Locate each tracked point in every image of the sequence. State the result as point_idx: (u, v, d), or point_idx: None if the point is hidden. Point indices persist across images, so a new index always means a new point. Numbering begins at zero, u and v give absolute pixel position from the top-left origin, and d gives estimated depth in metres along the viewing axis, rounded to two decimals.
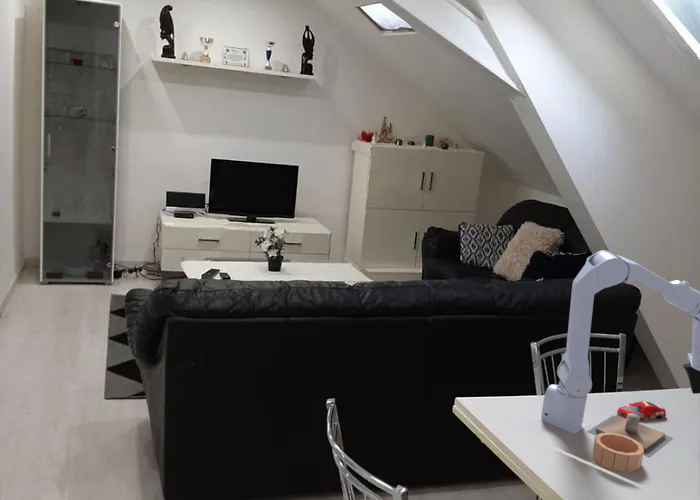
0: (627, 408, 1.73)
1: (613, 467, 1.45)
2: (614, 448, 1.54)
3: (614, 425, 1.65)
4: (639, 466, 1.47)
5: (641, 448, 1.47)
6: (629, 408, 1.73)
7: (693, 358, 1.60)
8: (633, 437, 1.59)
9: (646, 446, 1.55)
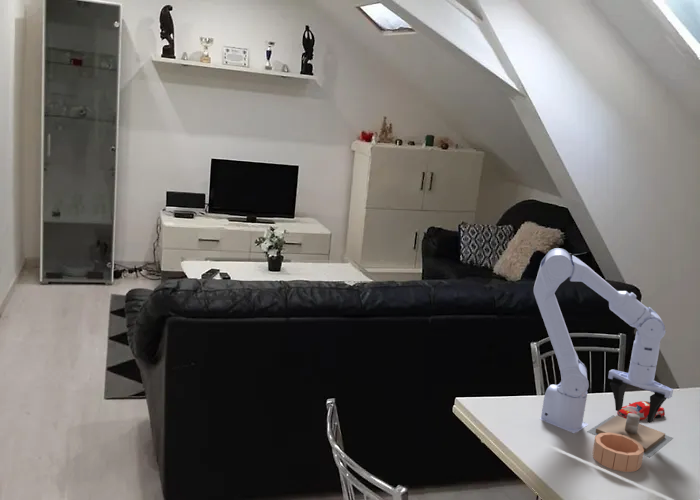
0: (627, 408, 1.73)
1: (613, 467, 1.45)
2: (614, 448, 1.54)
3: (614, 425, 1.65)
4: (639, 466, 1.47)
5: (641, 448, 1.47)
6: (629, 408, 1.73)
7: (637, 376, 1.57)
8: (633, 437, 1.59)
9: (646, 446, 1.55)
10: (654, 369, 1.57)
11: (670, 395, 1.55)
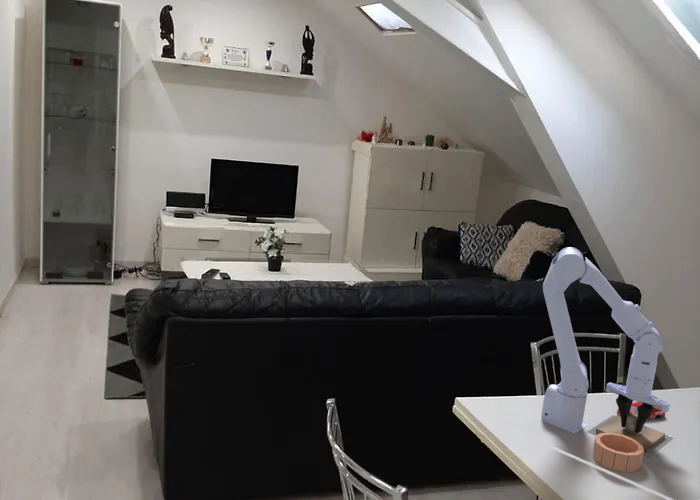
0: None
1: (613, 467, 1.45)
2: (614, 448, 1.54)
3: (614, 425, 1.65)
4: (639, 466, 1.47)
5: (641, 448, 1.47)
6: None
7: (635, 390, 1.58)
8: (633, 437, 1.59)
9: (646, 446, 1.55)
10: (651, 383, 1.57)
11: (667, 409, 1.55)
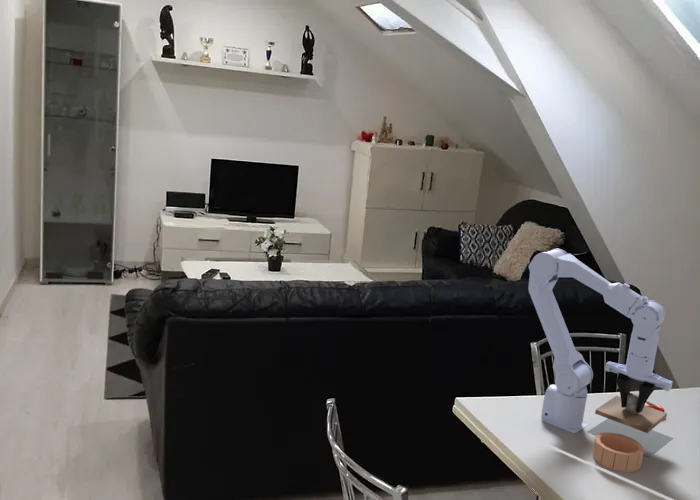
0: None
1: (613, 467, 1.45)
2: (614, 448, 1.54)
3: (614, 406, 1.59)
4: (639, 466, 1.47)
5: (641, 448, 1.47)
6: None
7: (636, 368, 1.52)
8: (634, 418, 1.53)
9: (648, 426, 1.49)
10: (653, 361, 1.51)
11: (669, 387, 1.49)
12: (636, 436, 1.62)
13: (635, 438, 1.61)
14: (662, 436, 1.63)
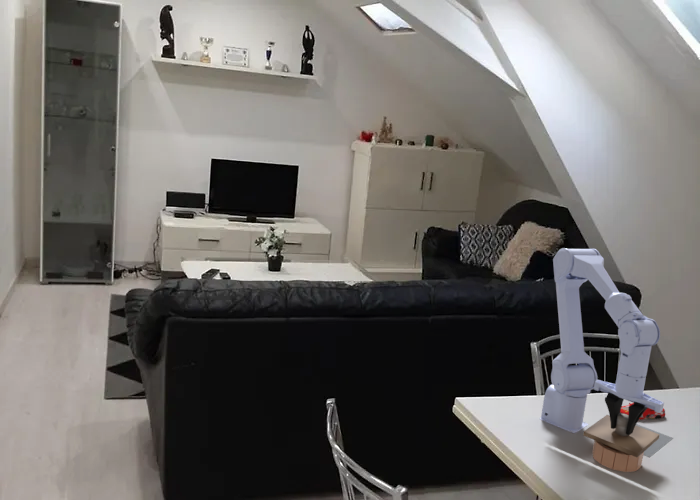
0: (627, 408, 1.73)
1: (613, 467, 1.45)
2: (614, 448, 1.54)
3: (603, 426, 1.51)
4: (639, 466, 1.47)
5: None
6: (628, 408, 1.73)
7: (625, 388, 1.44)
8: (624, 440, 1.46)
9: (638, 450, 1.42)
10: (643, 380, 1.44)
11: (660, 409, 1.42)
12: None
13: None
14: (662, 436, 1.63)
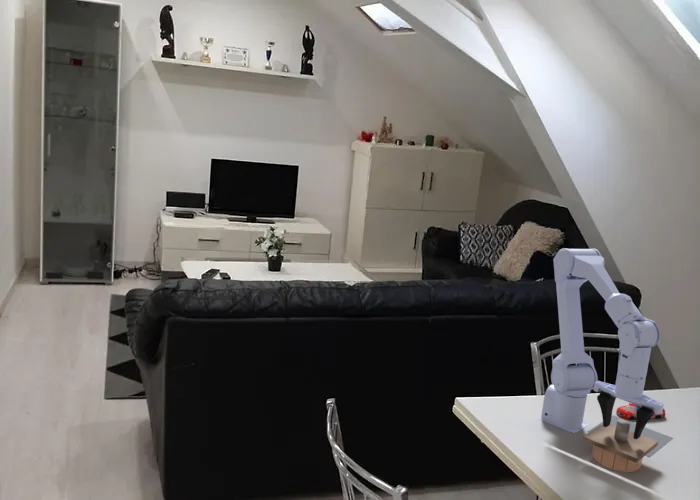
0: (626, 408, 1.73)
1: (613, 467, 1.45)
2: None
3: (603, 432, 1.51)
4: (639, 466, 1.47)
5: None
6: (628, 408, 1.73)
7: (625, 389, 1.44)
8: (623, 446, 1.46)
9: (637, 456, 1.42)
10: (643, 382, 1.44)
11: (660, 410, 1.42)
12: None
13: None
14: (662, 436, 1.63)
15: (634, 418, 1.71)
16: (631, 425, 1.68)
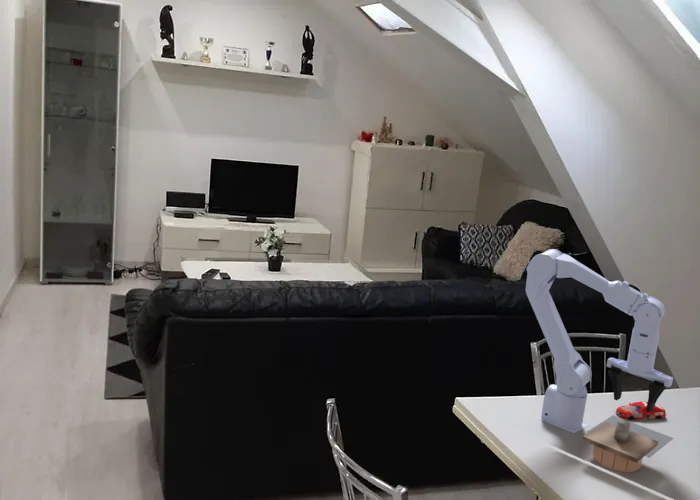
0: (626, 408, 1.74)
1: (613, 467, 1.45)
2: None
3: (603, 432, 1.51)
4: (639, 466, 1.47)
5: None
6: (628, 408, 1.74)
7: (636, 364, 1.53)
8: (623, 446, 1.46)
9: (637, 456, 1.42)
10: (653, 357, 1.52)
11: (670, 384, 1.50)
12: None
13: None
14: (662, 436, 1.63)
15: (633, 418, 1.71)
16: (631, 425, 1.68)
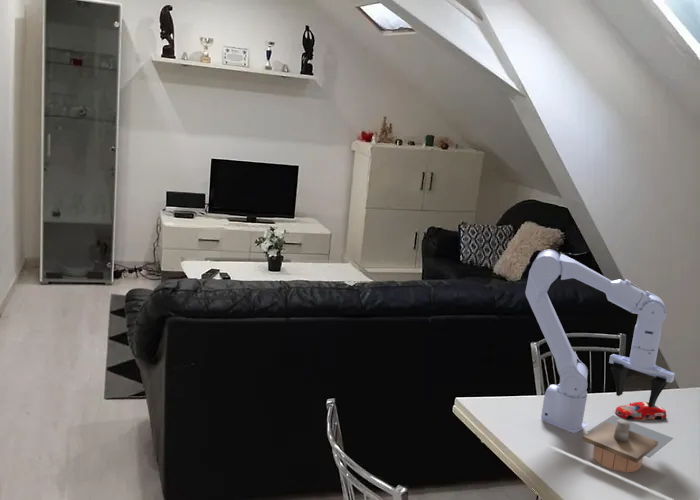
0: (626, 407, 1.74)
1: (613, 467, 1.45)
2: None
3: (603, 432, 1.51)
4: (639, 466, 1.47)
5: None
6: (627, 407, 1.74)
7: (639, 360, 1.55)
8: (623, 446, 1.46)
9: (637, 456, 1.42)
10: (655, 353, 1.55)
11: (672, 379, 1.53)
12: None
13: None
14: (662, 436, 1.63)
15: (632, 418, 1.71)
16: (631, 425, 1.68)
